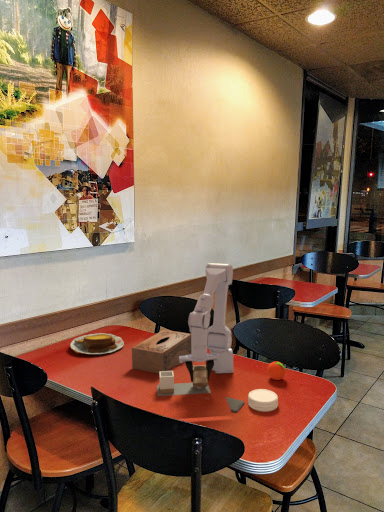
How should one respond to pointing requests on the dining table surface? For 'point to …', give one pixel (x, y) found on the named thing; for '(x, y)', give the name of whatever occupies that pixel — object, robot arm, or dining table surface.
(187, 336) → the tissue box cover
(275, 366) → the clementine
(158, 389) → the pin board
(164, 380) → the cream square cup
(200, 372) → the birch sleeve
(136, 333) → the dining table surface
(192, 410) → the dining table surface
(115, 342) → the food on plate
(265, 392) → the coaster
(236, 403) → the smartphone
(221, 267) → the robot arm
